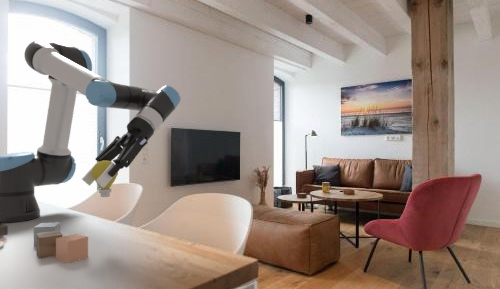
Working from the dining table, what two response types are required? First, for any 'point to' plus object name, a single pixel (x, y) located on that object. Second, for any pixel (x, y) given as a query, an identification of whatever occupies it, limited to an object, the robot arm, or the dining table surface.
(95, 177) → the light bulb
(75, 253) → the terracotta block
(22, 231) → the dining table surface
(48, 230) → the slate grey block
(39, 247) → the walnut block
